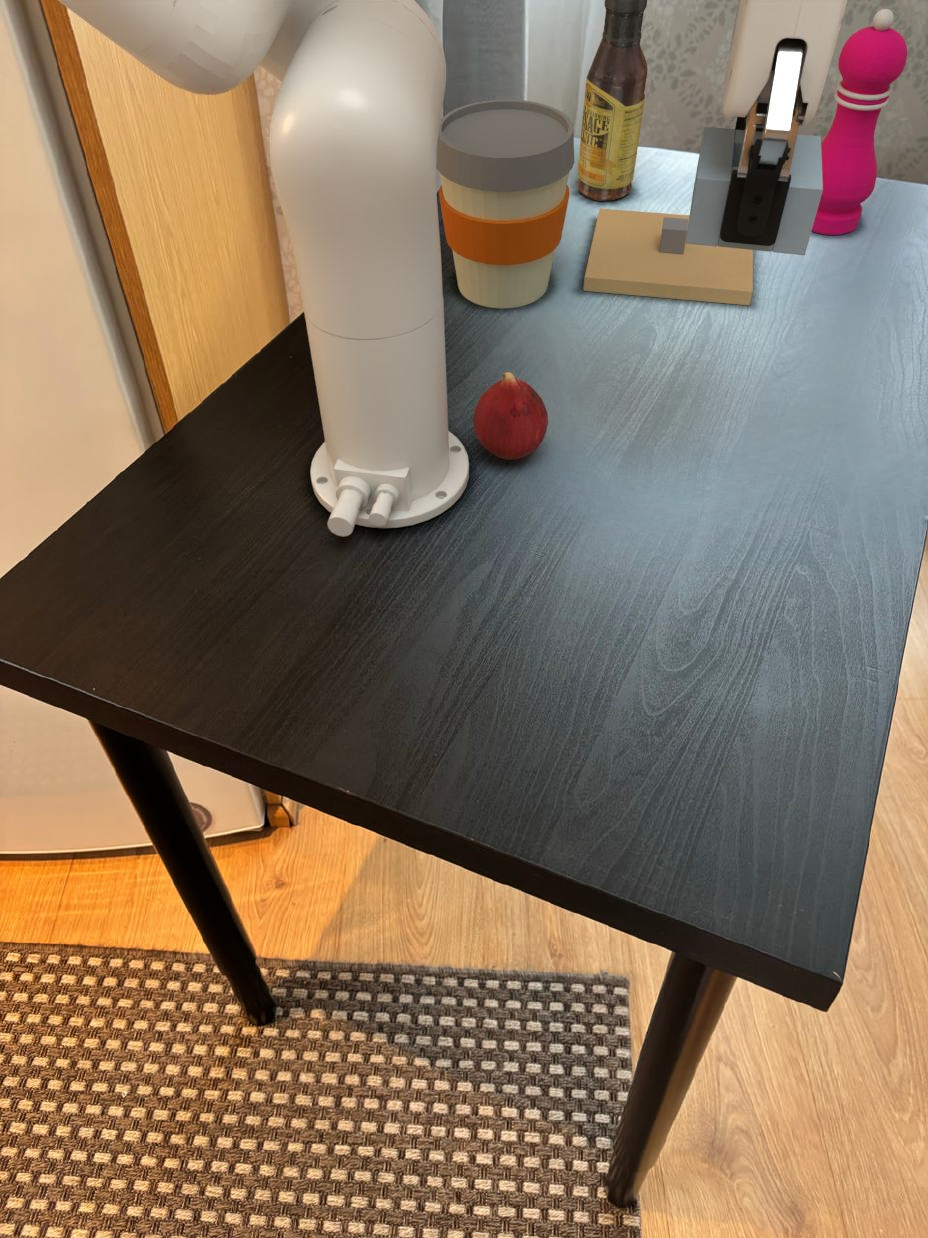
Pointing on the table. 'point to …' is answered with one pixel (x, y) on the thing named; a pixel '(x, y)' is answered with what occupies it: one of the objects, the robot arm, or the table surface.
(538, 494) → the table surface
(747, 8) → the robot arm
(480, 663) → the table surface
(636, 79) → the sauce bottle
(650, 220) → the base pad
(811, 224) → the gray block
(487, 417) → the onion
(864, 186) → the pepper mill
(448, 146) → the reusable coffee cup
